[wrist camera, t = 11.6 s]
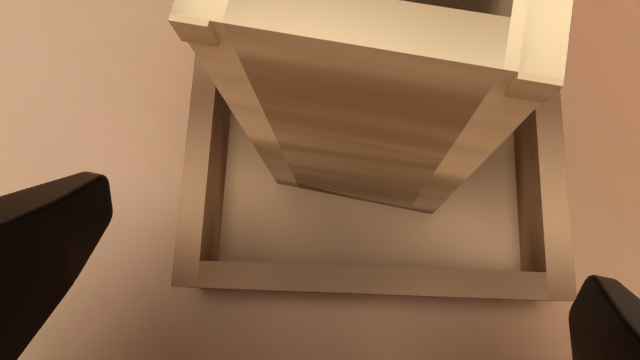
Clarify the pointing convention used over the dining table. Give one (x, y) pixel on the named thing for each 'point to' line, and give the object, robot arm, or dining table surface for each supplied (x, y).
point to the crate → (373, 221)
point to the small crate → (379, 85)
